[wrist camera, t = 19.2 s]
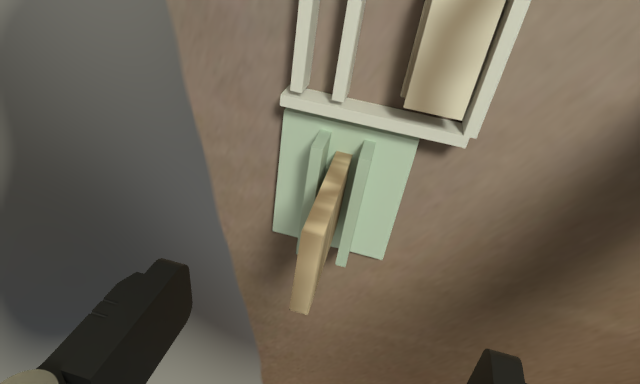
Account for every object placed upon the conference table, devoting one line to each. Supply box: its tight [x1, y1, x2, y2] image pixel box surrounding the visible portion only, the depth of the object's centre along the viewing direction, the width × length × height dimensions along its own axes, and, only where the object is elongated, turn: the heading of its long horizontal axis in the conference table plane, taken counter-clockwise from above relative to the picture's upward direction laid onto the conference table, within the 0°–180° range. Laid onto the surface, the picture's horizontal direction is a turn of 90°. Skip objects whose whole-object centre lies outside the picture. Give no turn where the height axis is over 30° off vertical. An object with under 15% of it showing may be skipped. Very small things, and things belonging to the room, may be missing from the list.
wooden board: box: [289, 151, 353, 315], centre depth 35 cm, size 2×8×12 cm, turn 172°
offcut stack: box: [400, 0, 506, 121], centre depth 30 cm, size 5×9×4 cm, turn 172°
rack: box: [280, 0, 531, 148], centre depth 31 cm, size 16×14×2 cm
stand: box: [272, 107, 419, 267], centre depth 39 cm, size 12×14×4 cm
